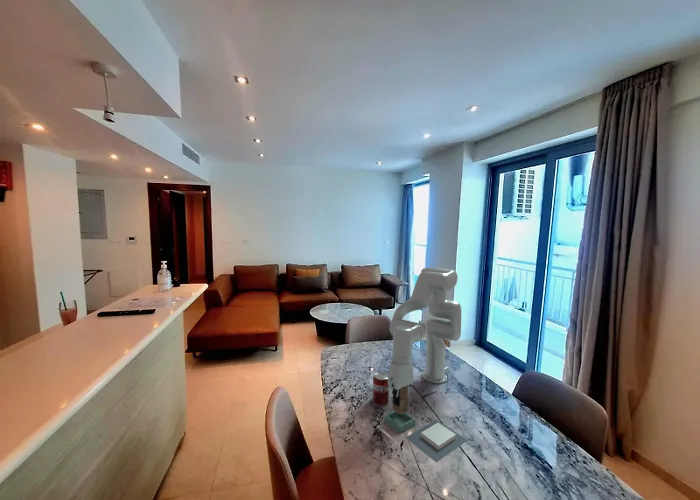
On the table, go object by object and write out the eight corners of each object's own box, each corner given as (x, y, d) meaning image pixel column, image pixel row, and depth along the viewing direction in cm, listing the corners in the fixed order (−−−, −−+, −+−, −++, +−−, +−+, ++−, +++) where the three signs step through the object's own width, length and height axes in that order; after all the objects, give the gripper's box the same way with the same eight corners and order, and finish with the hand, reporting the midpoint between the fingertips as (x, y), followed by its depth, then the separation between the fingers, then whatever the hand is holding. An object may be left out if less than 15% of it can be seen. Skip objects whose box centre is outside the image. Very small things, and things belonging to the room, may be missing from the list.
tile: (438, 422, 115) (421, 432, 110) (455, 434, 109) (438, 445, 103) (437, 426, 115) (420, 436, 110) (455, 438, 109) (438, 450, 103)
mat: (436, 420, 120) (436, 419, 120) (467, 441, 108) (467, 440, 108) (405, 438, 109) (405, 437, 109) (436, 463, 98) (436, 462, 98)
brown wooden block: (400, 406, 119) (401, 377, 118) (407, 411, 116) (408, 381, 115) (392, 409, 117) (393, 380, 116) (400, 414, 114) (401, 384, 113)
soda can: (388, 407, 128) (388, 381, 127) (371, 405, 130) (372, 378, 129) (389, 397, 135) (389, 372, 134) (373, 395, 137) (374, 371, 136)
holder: (399, 414, 123) (399, 408, 123) (415, 426, 116) (415, 419, 116) (384, 422, 118) (384, 415, 118) (399, 434, 111) (400, 427, 111)
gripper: (409, 349, 123) (407, 391, 124) (379, 359, 113) (378, 404, 114) (423, 356, 117) (421, 400, 118) (393, 367, 107) (391, 415, 108)
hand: (400, 402), depth 116 cm, fingers closed on brown wooden block, 4 cm apart
